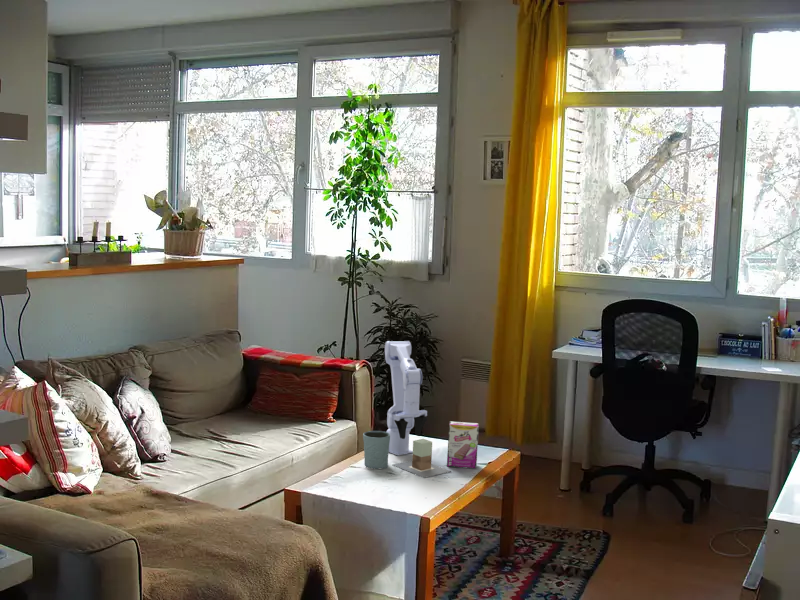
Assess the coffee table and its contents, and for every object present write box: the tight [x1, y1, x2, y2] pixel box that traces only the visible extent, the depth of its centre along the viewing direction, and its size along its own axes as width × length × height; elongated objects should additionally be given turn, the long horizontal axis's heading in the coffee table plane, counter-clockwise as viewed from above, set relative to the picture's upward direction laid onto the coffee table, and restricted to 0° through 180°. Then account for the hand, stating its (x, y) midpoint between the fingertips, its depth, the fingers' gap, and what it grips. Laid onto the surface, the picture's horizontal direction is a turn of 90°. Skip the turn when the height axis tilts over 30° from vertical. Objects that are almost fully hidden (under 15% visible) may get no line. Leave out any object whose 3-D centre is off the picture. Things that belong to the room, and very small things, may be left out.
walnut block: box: [411, 453, 433, 470], centre depth 315 cm, size 5×5×5 cm
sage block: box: [412, 438, 433, 457], centre depth 314 cm, size 5×5×5 cm
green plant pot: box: [362, 430, 390, 470], centre depth 317 cm, size 10×10×12 cm
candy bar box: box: [446, 420, 480, 469], centre depth 320 cm, size 11×5×16 cm, turn 84°
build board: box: [392, 460, 452, 479], centre depth 315 cm, size 18×13×1 cm
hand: (410, 436), depth 320 cm, fingers open, 7 cm apart
